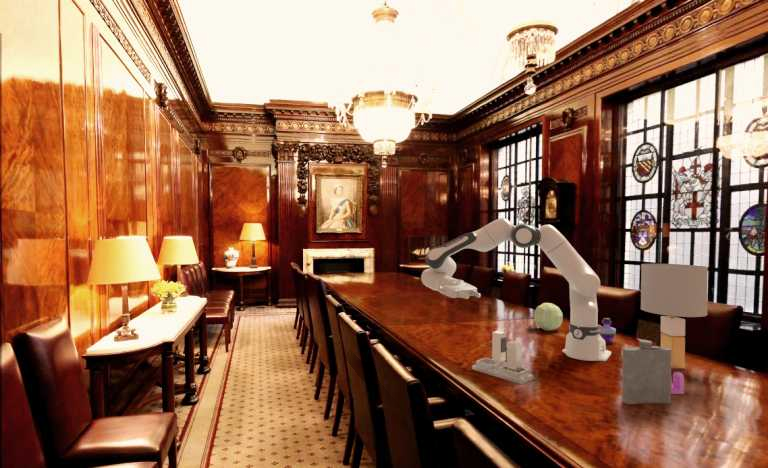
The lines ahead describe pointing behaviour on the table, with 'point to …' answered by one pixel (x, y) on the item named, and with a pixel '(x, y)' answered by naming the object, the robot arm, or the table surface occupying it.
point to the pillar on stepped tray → (509, 371)
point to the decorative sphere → (548, 316)
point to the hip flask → (646, 374)
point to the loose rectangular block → (499, 345)
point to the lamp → (674, 301)
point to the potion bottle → (607, 331)
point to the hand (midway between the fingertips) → (474, 296)
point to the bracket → (677, 383)
